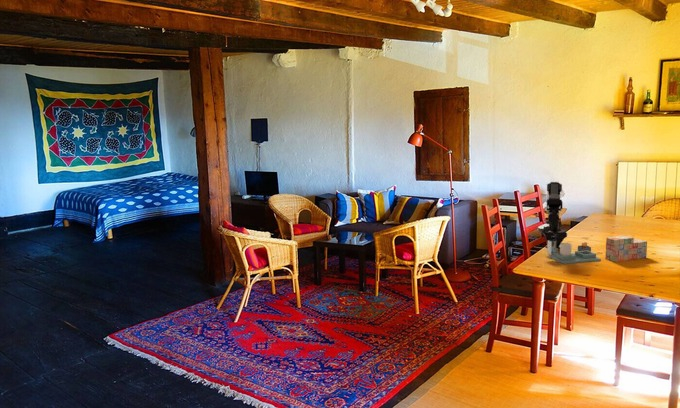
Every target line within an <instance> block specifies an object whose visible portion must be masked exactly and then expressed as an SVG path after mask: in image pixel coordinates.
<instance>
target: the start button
mask: <svg viewBox="0 0 680 408" xmlns="http://www.w3.org/2000/svg"><path fill="white" fill-rule="evenodd" d="M581 245H582V247H583V248H584V247H587V246H588V242H587V241H582V242H581Z"/></svg>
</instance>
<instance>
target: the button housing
mask: <svg viewBox="0 0 680 408" xmlns="http://www.w3.org/2000/svg"><path fill="white" fill-rule="evenodd" d="M587 250H588V251H590V252H592V246H590V245H587V247H584V248H583V247H582V244H581V245H577V251H587Z"/></svg>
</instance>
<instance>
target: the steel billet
mask: <svg viewBox="0 0 680 408" xmlns="http://www.w3.org/2000/svg"><path fill="white" fill-rule="evenodd" d="M546 246H547V247H546V249H547V251H546V253H547V255H555V253H559V248H556V240H548V245H546Z"/></svg>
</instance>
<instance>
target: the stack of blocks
mask: <svg viewBox="0 0 680 408" xmlns="http://www.w3.org/2000/svg"><path fill="white" fill-rule="evenodd" d="M605 241H606V243H605V257H604V258H605V260H607V259H608V261H610V260H611V262H613V261H615V262H623V261H622V260H624V261H630V260H638V259H645V258H647V251H648V240H647V241H646V240H643V239H640V238H635V239H634V237H633V236H628V235H624V234H623V235H616V236H609V237H606V239H605Z"/></svg>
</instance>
